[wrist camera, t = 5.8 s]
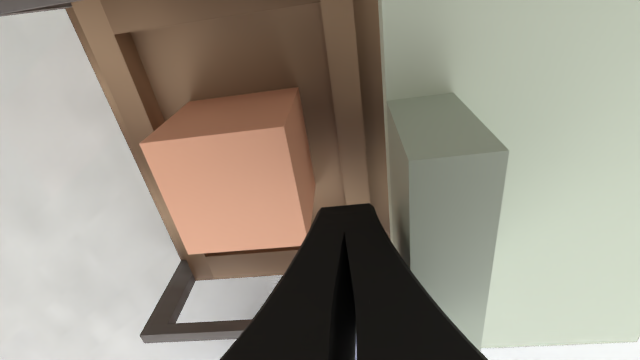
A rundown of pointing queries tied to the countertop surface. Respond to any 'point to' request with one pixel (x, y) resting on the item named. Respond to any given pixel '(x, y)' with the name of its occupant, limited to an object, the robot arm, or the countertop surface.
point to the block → (236, 171)
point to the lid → (517, 164)
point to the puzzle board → (236, 79)
